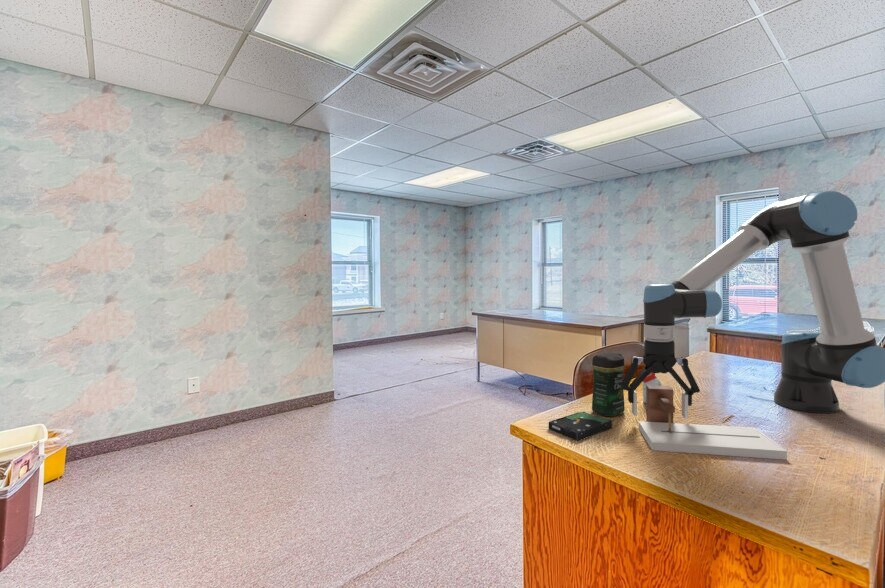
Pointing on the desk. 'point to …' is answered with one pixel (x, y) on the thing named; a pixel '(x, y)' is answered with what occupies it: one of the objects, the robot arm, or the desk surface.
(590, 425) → the disk drive
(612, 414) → the coffee jar
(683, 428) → the grey board
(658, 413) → the marking gauge
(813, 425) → the desk surface
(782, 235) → the robot arm
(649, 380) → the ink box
